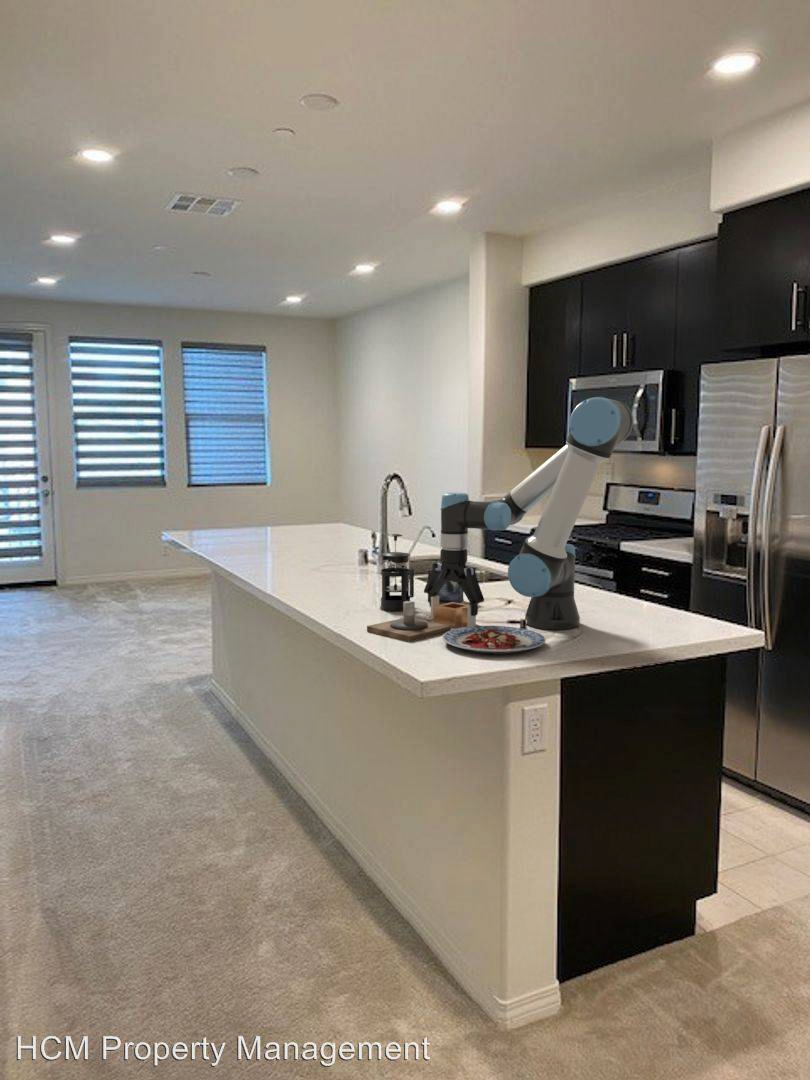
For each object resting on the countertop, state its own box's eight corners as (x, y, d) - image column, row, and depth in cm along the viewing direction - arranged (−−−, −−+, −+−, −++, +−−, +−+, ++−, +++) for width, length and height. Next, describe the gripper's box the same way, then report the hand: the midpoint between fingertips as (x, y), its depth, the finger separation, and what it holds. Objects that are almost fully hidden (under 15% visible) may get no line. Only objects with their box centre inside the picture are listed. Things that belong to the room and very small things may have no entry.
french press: (389, 613, 240) (389, 536, 237) (372, 608, 247) (372, 533, 244) (421, 608, 247) (421, 534, 244) (403, 603, 254) (403, 531, 251)
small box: (426, 602, 257) (427, 569, 256) (432, 598, 263) (432, 566, 262) (458, 604, 253) (459, 571, 252) (464, 600, 260) (464, 568, 258)
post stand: (450, 631, 217) (451, 602, 216) (409, 641, 206) (409, 611, 205) (408, 622, 228) (408, 594, 227) (367, 631, 217) (366, 602, 216)
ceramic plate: (421, 643, 205) (421, 632, 205) (495, 629, 221) (495, 618, 220) (491, 665, 185) (491, 652, 184) (566, 648, 200) (567, 636, 200)
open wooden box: (473, 623, 227) (474, 605, 226) (455, 627, 221) (455, 610, 220) (452, 618, 232) (452, 601, 232) (433, 623, 227) (433, 605, 226)
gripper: (497, 551, 218) (496, 628, 221) (430, 542, 236) (429, 613, 238) (480, 554, 213) (478, 632, 215) (412, 545, 230) (411, 617, 233)
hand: (452, 623), depth 227 cm, fingers open, 13 cm apart
